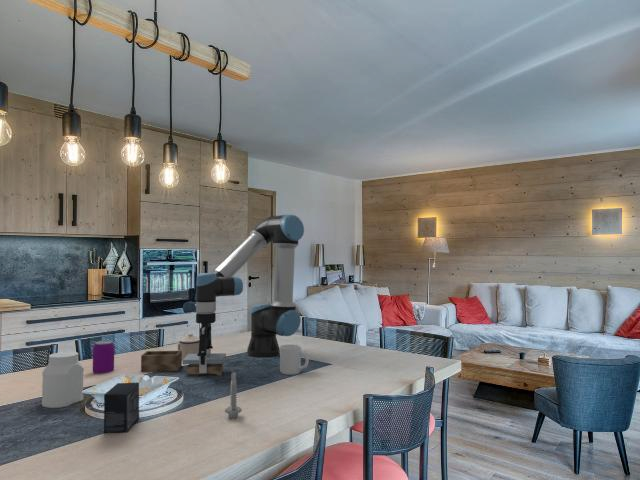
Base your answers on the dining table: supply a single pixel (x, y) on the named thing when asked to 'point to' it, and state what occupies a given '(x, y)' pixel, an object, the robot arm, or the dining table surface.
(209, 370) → the block
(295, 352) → the mug
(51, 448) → the dining table surface
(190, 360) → the lid
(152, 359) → the walnut box
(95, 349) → the beverage can
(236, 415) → the screw
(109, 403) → the small box
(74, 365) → the jar
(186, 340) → the teacup with lid
